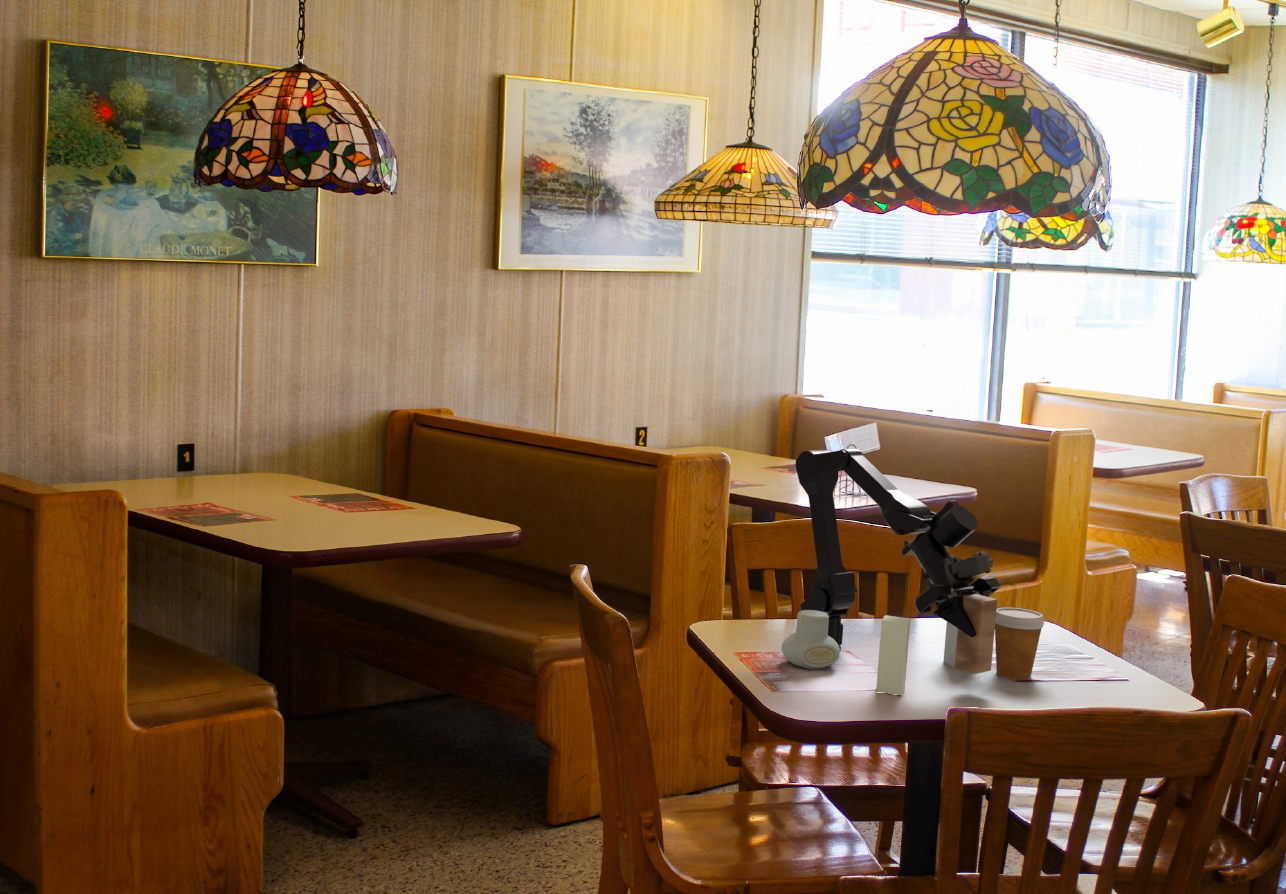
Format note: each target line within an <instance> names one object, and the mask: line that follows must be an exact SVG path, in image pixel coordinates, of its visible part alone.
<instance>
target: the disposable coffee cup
mask: <svg viewBox="0 0 1286 894" xmlns="http://www.w3.org/2000/svg"><path fill="white" fill-rule="evenodd" d="M1045 623H1046V622H1045V620H1044V616H1043V614H1042V613H1040V612H1038V611H1034V610H1032V609H1027V608H1018V607H999V608H998V607H997V610H996V621H995V632H994V643H995V665H996V667H995V669H996V671H995V672H996V674H998V676H1001V677H1003V678H1007V679H1013V680H1028V679H1030V678H1031V676H1032V673H1033V669H1034V668H1033V667H1034V664H1035V660H1036V655H1037V650H1038V647H1039V641H1040V636H1041V632H1042V628H1044V625H1045Z"/></svg>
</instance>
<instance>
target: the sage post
mask: <svg viewBox="0 0 1286 894" xmlns="http://www.w3.org/2000/svg"><path fill="white" fill-rule="evenodd" d="M910 630H911V618H909V617H900V616H894V615H892V616H891V615H884V616H883V618H882V619H881V623H880V637H879V649H878V650H879V651H878V661H877V663H878V665H877V675H876V688H875V693H876V692H884V693H888V694H897V695H901V696H900V697H902V696H903V695H904V693H905V690H906V679H907V678H906V677H907V667H908V666H907V665H908V655H909V642H910ZM903 692H904V693H903ZM888 694H887V695H888ZM902 694H903V695H902Z"/></svg>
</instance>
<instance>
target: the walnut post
mask: <svg viewBox="0 0 1286 894" xmlns="http://www.w3.org/2000/svg"><path fill="white" fill-rule="evenodd" d="M963 608H964V609H965V611H966V613H967V615H968V617H969V619H970V621H971V623H972V625H973V627H974V629H975V631H976V634H977V635H976V636H975V637H973V638H972V637H970V636H968V635H967V634H965V633H964V632H962V631H961V630H959V629H958V638H957V649H956V660H955V668H958V669H957V670H961V671H965V672H968V673H970V674H971V673H972V674H975V675H977V674H978V675H979V674H982V673H987V672H991V671H992V665H993V664H992V662H993V653H994V643H995V621H996V610H997V609H998V599H997V598H992V597H991V596H990V597H986V596H982V595H978V594H974V595H967V596H963Z"/></svg>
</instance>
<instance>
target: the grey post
mask: <svg viewBox="0 0 1286 894" xmlns="http://www.w3.org/2000/svg"><path fill="white" fill-rule="evenodd" d="M957 638H958V628H956V627H955V626H953V625H952V624H950V623H949V622H947V621H946V626H945V640H944V649H943V650H944V651H943V661H942V662H943V663H944V664H946V665H947V666H949V667H951V668H952V669H954V670H956V669H957V670H959V669H958V668H955V660H956V649H957Z"/></svg>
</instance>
